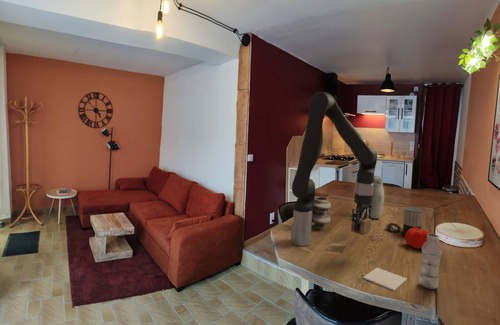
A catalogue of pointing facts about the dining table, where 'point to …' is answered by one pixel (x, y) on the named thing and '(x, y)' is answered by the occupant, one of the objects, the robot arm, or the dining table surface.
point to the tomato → (416, 237)
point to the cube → (362, 226)
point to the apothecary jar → (320, 213)
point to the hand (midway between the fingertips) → (360, 229)
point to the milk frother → (409, 220)
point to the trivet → (385, 279)
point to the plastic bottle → (430, 262)
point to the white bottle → (377, 198)
